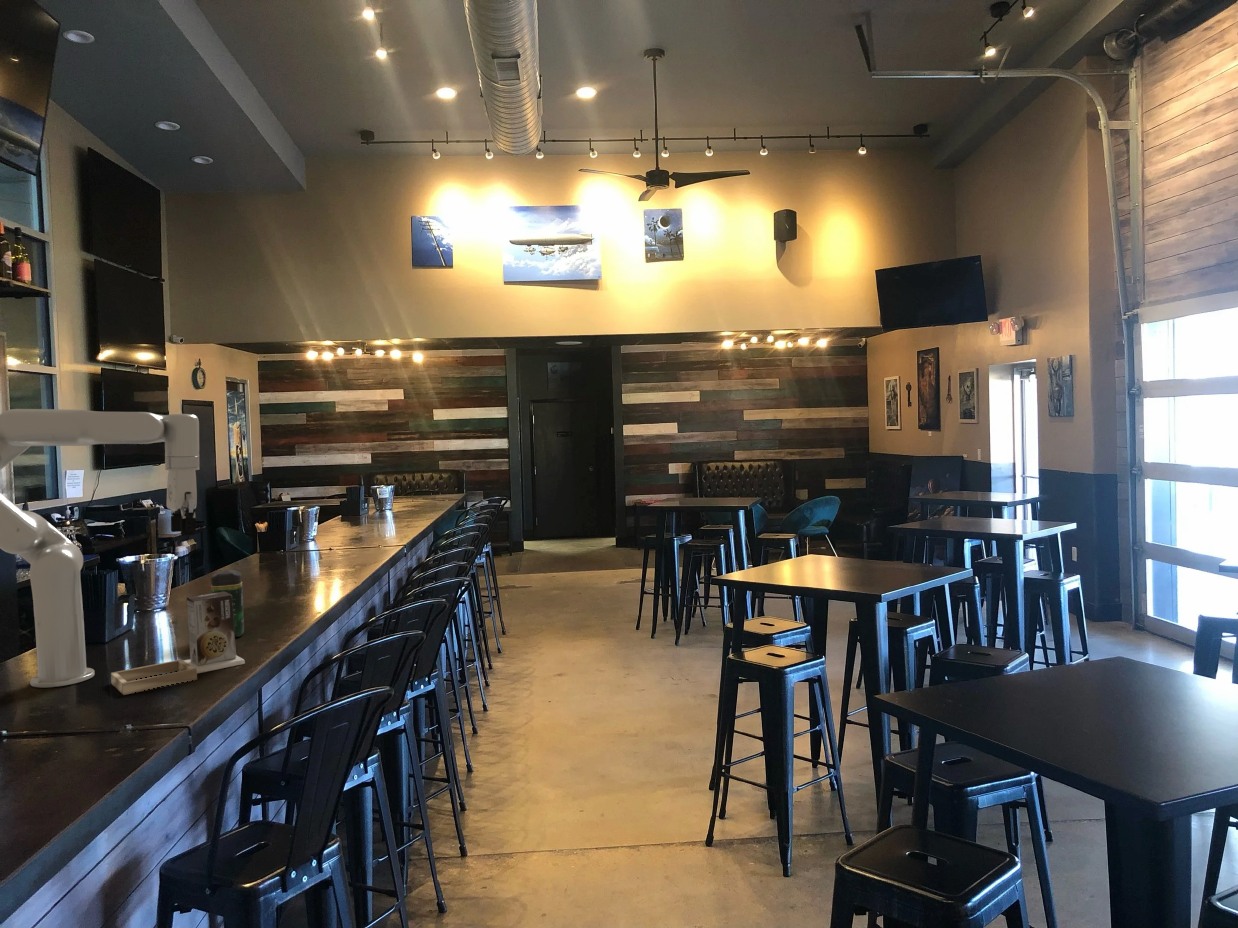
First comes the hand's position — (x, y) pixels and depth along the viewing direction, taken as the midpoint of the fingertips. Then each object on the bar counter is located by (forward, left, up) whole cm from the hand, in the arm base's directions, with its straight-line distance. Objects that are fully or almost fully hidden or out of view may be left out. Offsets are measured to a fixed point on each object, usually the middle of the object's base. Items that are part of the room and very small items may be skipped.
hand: (183, 533), depth 210 cm
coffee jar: (-22, +16, -33) cm, 42 cm away
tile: (+6, +4, -32) cm, 33 cm away
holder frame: (+11, -11, -32) cm, 36 cm away
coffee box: (+6, +4, -32) cm, 32 cm away
